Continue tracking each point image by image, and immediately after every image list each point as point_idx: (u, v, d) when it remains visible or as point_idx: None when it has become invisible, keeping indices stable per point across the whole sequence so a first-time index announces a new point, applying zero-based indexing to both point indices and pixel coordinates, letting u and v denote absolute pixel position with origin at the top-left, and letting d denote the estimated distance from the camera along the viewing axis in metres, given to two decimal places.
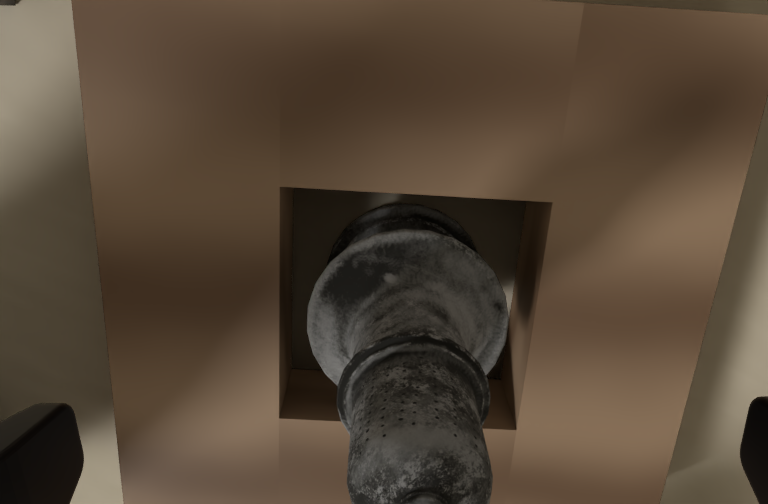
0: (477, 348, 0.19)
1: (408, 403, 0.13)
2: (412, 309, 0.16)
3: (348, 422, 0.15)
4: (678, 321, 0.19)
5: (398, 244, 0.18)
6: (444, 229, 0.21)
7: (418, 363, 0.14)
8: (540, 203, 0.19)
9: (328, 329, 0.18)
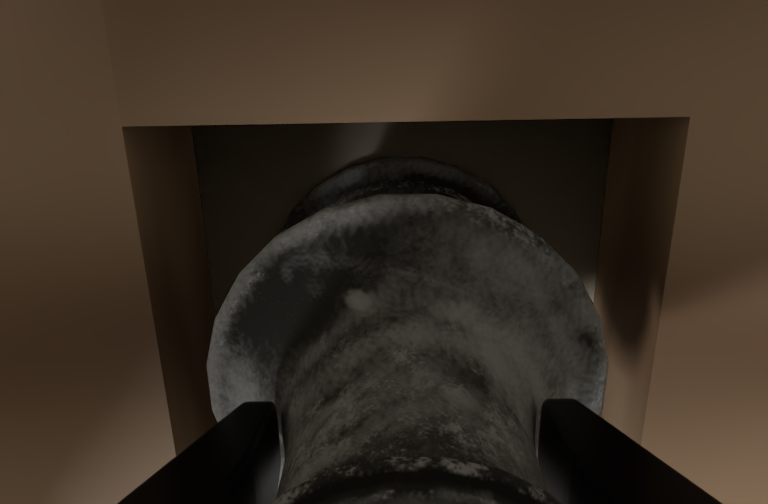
0: None
1: None
2: (404, 373, 0.07)
3: None
4: None
5: (372, 226, 0.08)
6: (467, 197, 0.12)
7: None
8: (651, 129, 0.10)
9: None
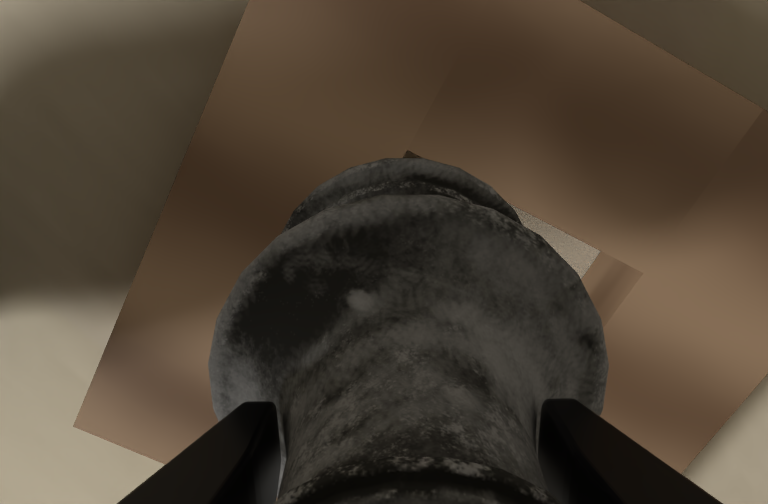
0: None
1: None
2: (407, 372, 0.07)
3: None
4: (692, 423, 0.20)
5: (374, 226, 0.09)
6: (468, 198, 0.12)
7: None
8: (621, 268, 0.20)
9: None
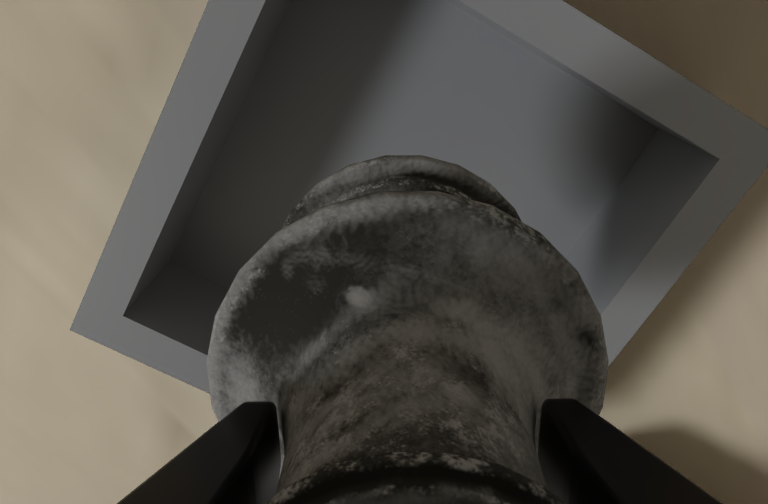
0: None
1: None
2: (405, 369, 0.07)
3: None
4: None
5: (373, 223, 0.08)
6: (468, 195, 0.12)
7: None
8: None
9: None
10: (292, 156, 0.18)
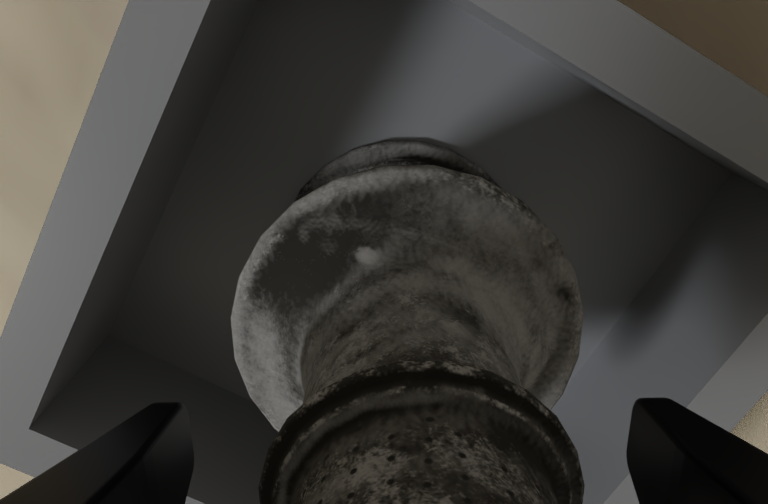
0: (532, 370, 0.11)
1: None
2: (409, 311, 0.08)
3: None
4: None
5: (378, 193, 0.10)
6: None
7: (425, 436, 0.06)
8: None
9: (268, 354, 0.11)
10: (261, 207, 0.14)
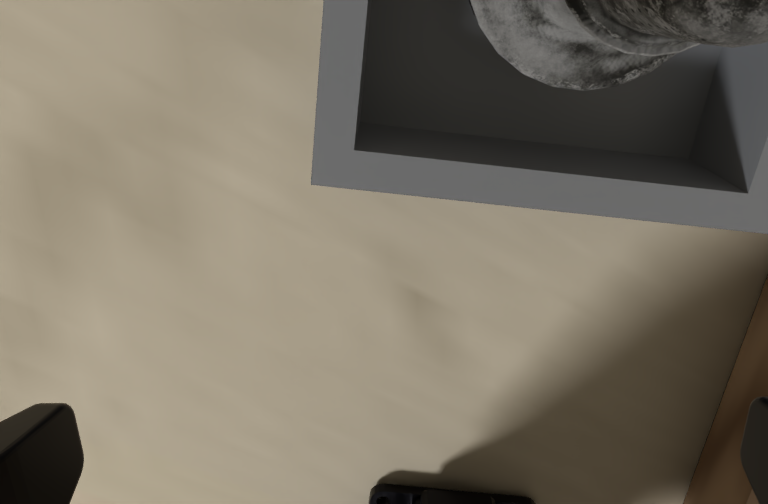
0: None
1: None
2: None
3: (593, 19, 0.11)
4: None
5: None
6: None
7: None
8: None
9: (505, 3, 0.14)
10: None
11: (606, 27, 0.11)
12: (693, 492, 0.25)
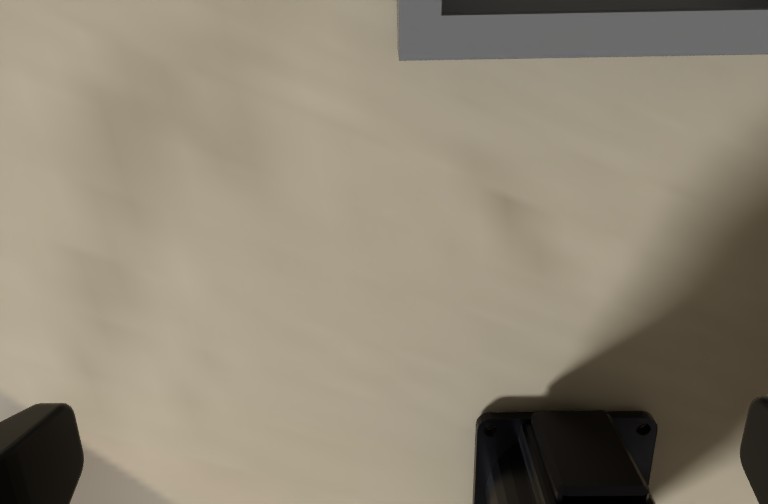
0: None
1: None
2: None
3: None
4: None
5: None
6: None
7: None
8: None
9: None
10: None
11: None
12: None
